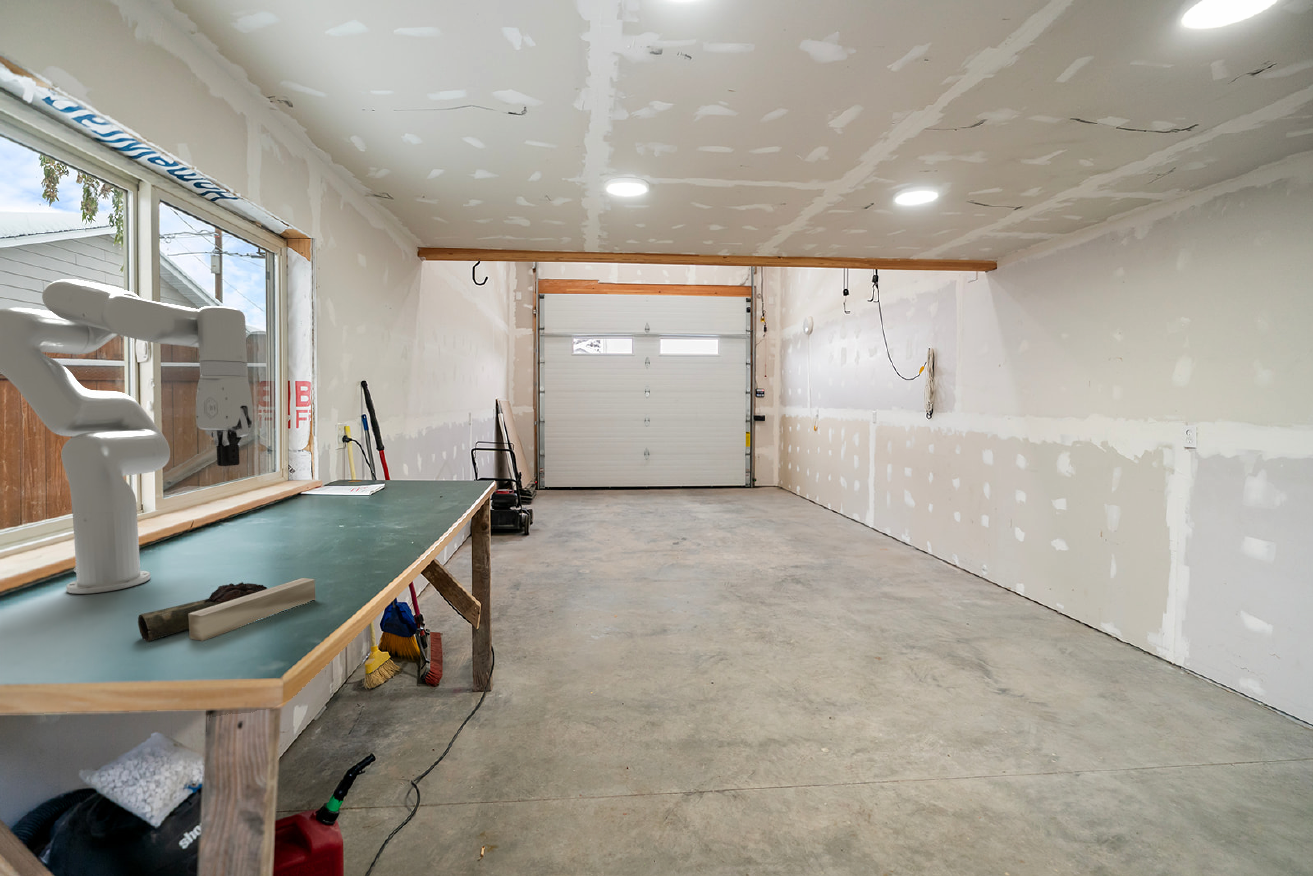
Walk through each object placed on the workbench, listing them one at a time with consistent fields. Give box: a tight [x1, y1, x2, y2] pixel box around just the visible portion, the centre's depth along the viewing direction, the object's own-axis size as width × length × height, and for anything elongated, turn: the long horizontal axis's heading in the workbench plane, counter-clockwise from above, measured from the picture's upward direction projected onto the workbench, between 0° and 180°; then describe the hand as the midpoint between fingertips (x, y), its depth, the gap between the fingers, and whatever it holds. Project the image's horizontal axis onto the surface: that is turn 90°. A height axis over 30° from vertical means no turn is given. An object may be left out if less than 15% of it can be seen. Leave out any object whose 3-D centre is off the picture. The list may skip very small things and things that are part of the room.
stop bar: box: [188, 577, 316, 642], centre depth 101 cm, size 3×20×4 cm, turn 160°
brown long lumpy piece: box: [137, 581, 268, 642], centre depth 99 cm, size 18×7×6 cm, turn 145°
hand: (228, 465), depth 115 cm, fingers closed
